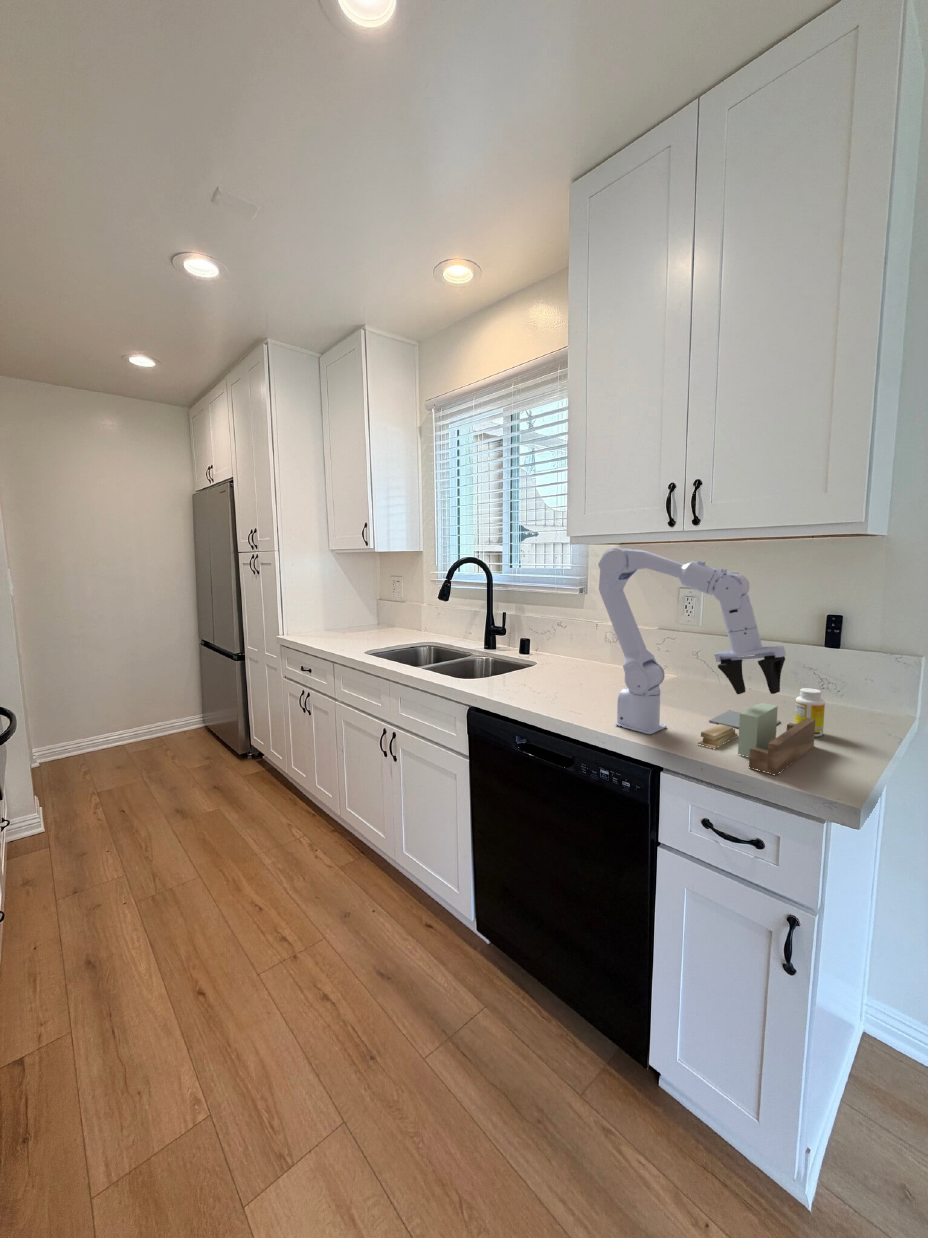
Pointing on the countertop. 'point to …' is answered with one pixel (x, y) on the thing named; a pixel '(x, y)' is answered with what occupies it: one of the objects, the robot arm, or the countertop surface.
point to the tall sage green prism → (757, 727)
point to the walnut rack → (784, 748)
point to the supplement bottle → (810, 708)
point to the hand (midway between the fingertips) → (757, 693)
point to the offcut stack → (717, 735)
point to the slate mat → (729, 719)
